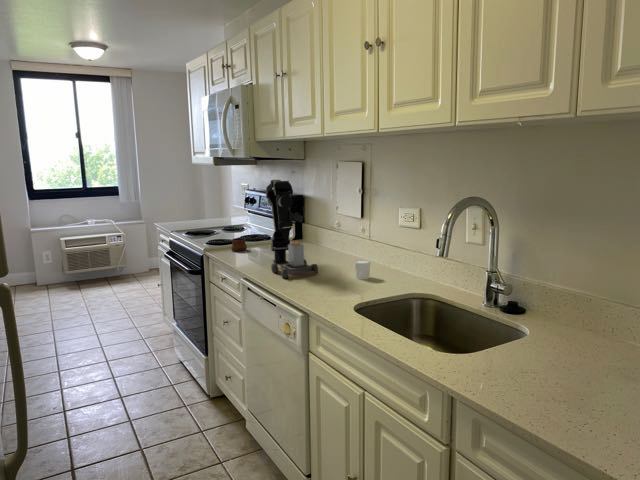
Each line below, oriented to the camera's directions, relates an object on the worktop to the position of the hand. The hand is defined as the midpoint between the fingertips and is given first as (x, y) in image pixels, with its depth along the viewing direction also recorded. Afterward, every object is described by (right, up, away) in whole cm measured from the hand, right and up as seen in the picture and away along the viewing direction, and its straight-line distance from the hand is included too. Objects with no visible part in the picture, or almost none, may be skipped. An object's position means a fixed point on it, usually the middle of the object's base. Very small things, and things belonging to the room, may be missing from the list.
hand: (287, 242), depth 216 cm
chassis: (+4, -14, -6) cm, 16 cm away
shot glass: (+34, -15, -15) cm, 40 cm away
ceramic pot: (-30, -6, +47) cm, 56 cm away
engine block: (+5, -13, -8) cm, 16 cm away
